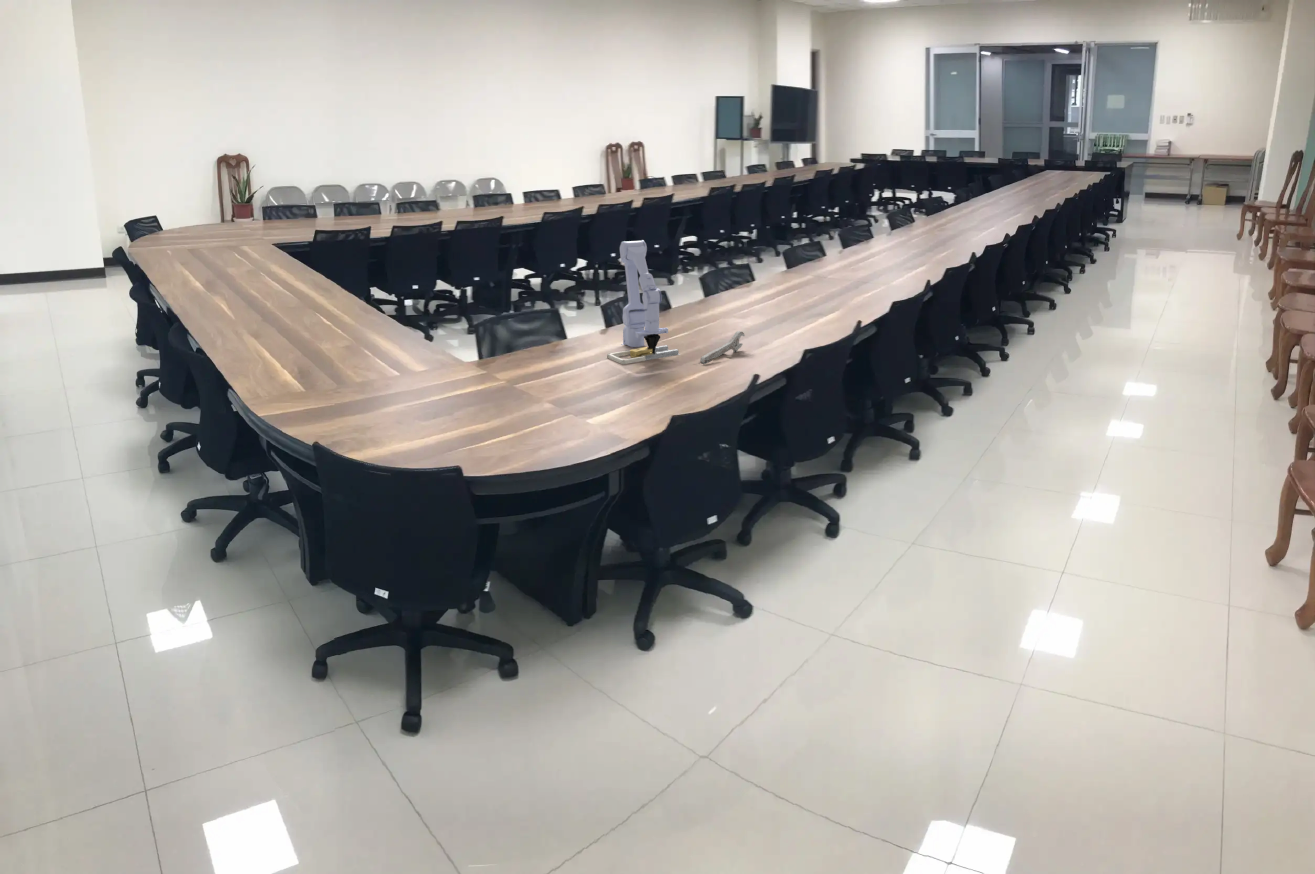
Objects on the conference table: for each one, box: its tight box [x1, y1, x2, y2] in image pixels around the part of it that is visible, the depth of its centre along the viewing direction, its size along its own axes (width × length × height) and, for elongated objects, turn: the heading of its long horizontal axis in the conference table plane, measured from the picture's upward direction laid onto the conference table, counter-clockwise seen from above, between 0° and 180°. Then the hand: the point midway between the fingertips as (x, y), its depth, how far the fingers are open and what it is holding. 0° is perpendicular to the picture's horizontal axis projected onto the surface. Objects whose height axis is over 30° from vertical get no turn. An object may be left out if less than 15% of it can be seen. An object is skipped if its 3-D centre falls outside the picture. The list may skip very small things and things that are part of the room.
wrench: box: [699, 330, 746, 365], centre depth 370 cm, size 8×2×30 cm
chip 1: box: [629, 347, 644, 358], centre depth 365 cm, size 4×4×3 cm
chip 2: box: [639, 346, 652, 355], centre depth 367 cm, size 4×4×3 cm
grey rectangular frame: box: [606, 349, 645, 365], centre depth 363 cm, size 12×10×2 cm
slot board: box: [641, 344, 681, 362], centre depth 370 cm, size 12×17×2 cm
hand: (652, 352), depth 369 cm, fingers closed
